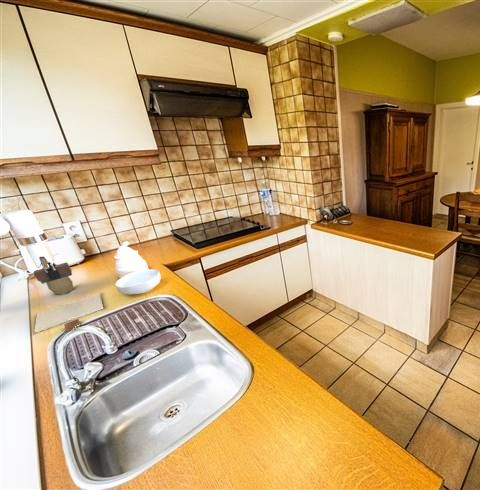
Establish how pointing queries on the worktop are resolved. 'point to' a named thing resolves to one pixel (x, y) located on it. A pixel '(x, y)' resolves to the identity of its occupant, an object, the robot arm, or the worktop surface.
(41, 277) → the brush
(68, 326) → the cork block
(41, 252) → the robot arm
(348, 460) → the worktop surface
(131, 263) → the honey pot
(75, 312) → the board
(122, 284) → the cereal bowl
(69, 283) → the squeeze bottle
